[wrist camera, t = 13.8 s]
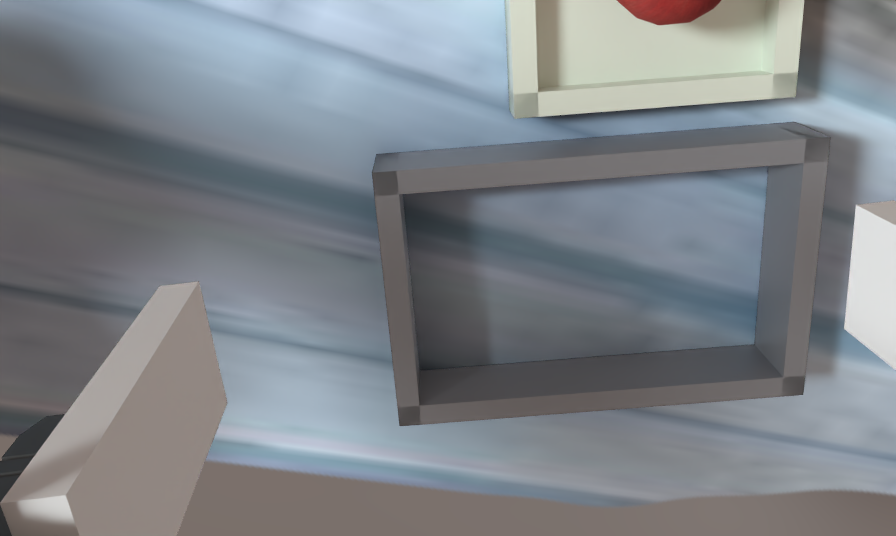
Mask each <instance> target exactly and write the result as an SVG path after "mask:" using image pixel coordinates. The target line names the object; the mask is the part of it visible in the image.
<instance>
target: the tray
mask: <svg viewBox="0 0 896 536" xmlns="http://www.w3.org/2000/svg"><path fill="white" fill-rule="evenodd" d="M803 9H804V0H721V1H720V3H719V4H718V5H717V6H716V7H715V8H714V9H712V10H711V11H709V12H707V13H706V14H704V15H702V16H700V17H699V18H697V19H695V20H693V21H692V22H689V23H679V24H669V25H660V26H659V25H656V24H653V23H650V22H647V21H644V20H641V19H638V18H636V17H635V16H634V15H633V14H631V13H630V12H629V11H628V10H627V9H626V8H625V7H623V6H622V5H621V4H620V3H619V2H618V1H617V0H505V19H506V43H507V66H508V89H509V110H510V112H511V114H512V115H513V117H514V119H517V118H530V117H543V116H556V115H569V114H582V113H595V112H608V111H621V110H634V109H646V108H659V107H672V106H685V105H698V104H711V103H724V102H737V101H750V100H763V99H776V98H789V97H796V88H797V77H798V65H799V54H800V43H801V31H802V20H803Z"/></svg>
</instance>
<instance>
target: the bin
mask: <svg viewBox="0 0 896 536" xmlns="http://www.w3.org/2000/svg"><path fill="white" fill-rule="evenodd" d="M830 139H831V137H829V136H827V135H824V134H822V133H819V132H817V131H815V130H812V129H810V128H808V127H805V126H803V125H800V124H798V123H796V122H787V123H774V124H761V125H748V126H735V127H722V128H710V129H697V130H684V131H671V132H658V133H645V134H632V135H619V136H606V137H593V138H580V139H567V140H554V141H541V142H528V143H516V144H503V145H490V146H477V147H464V148H451V149H438V150H425V151H412V152H399V153H386V154H376V158H375V162H374V166H373V170H372V178H373V187H374V196H375V206H376V215H377V224H378V233H379V242H380V251H381V260H382V269H383V279H384V288H385V297H386V306H387V315H388V324H389V333H390V342H391V352H392V361H393V370H394V379H395V388H396V397H397V406H398V415H399V425H400V426H409V425H422V424H435V423H448V422H461V421H473V420H486V419H499V418H512V417H525V416H538V415H550V414H563V413H576V412H589V411H602V410H615V409H627V408H640V407H653V406H666V405H679V404H692V403H704V402H717V401H730V400H743V399H756V398H769V397H781V396H794V395H803V392H804V382H805V373H806V364H807V354H808V345H809V336H810V326H811V317H812V307H813V298H814V289H815V279H816V270H817V261H818V251H819V242H820V232H821V223H822V214H823V204H824V195H825V186H826V176H827V167H828V157H829V148H830ZM761 166H768V179H767V192H766V204H765V217H764V230H763V243H762V255H761V268H760V281H759V293H758V306H757V319H756V332H755V344H754V345H741V346H729V347H716V348H703V349H690V350H677V351H664V352H651V353H639V354H626V355H613V356H600V357H587V358H574V359H561V360H549V361H536V362H523V363H510V364H497V365H484V366H472V367H459V368H446V369H433V370H420V368H419V357H418V347H417V336H416V326H415V315H414V305H413V294H412V284H411V274H410V263H409V253H408V242H407V232H406V221H405V211H404V201H403V194H412V193H425V192H438V191H451V190H464V189H477V188H490V187H502V186H515V185H528V184H541V183H554V182H567V181H580V180H593V179H606V178H619V177H632V176H645V175H657V174H670V173H683V172H696V171H709V170H722V169H735V168H748V167H761Z"/></svg>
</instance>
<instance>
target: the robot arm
mask: <svg viewBox="0 0 896 536" xmlns="http://www.w3.org/2000/svg"><path fill="white" fill-rule="evenodd" d="M844 329H845V330H846V331H848V332H849V333H850V334H851V335H853V336H854V337H855V338H856V339H857V340H859V341H860V342H861V343H862V344H864V345H865V346H866V347H867V348H869V349H870V350H871V351H872V352H874V353H875V354H876V355H877V356H879V357H880V358H881V359H882V360H884V361H885V362H886V363H887V364H888V365H890V366H891V367H892V368H893V369H895V370H896V201H886V202H877V203H868V204H860V205H856V210H855V221H854V231H853V242H852V252H851V263H850V273H849V284H848V294H847V305H846V315H845V326H844ZM226 405H227V399H226V395H225V390H224V386H223V382H222V378H221V373H220V369H219V365H218V361H217V356H216V352H215V348H214V344H213V339H212V335H211V331H210V327H209V322H208V318H207V314H206V310H205V305H204V301H203V297H202V293H201V288H200V284H199V281H198V282H189V283H181V284H172V285H164V286H159V288H158V289H157V290H156V292H155V293H154V294H153V296H152V297H151V298H150V300H149V301H148V303H147V304H146V305H145V307H144V308H143V309H142V311H141V312H140V313H139V315H138V316H137V317H136V319H135V320H134V322H133V323H132V324H131V326H130V327H129V328H128V330H127V331H126V332H125V334H124V335H123V336H122V338H121V339H120V341H119V342H118V343H117V345H116V346H115V347H114V349H113V350H112V351H111V353H110V354H109V356H108V357H107V358H106V360H105V361H104V362H103V364H102V365H101V366H100V368H99V369H98V370H97V372H96V373H95V375H94V376H93V377H92V379H91V380H90V381H89V383H88V384H87V385H86V387H85V388H84V389H83V391H82V392H81V394H80V395H79V396H78V398H77V399H76V400H75V402H74V403H73V404H72V406H71V407H70V408H69V410H68V411H67V413H66V414H63V415H54V416H46V417H45V418H43V419H42V420H41V421H39V422H38V423H37V424H35V425H34V426H32V427H31V428H30V429H28V430H27V431H25V432H24V433H23V434H21V435H20V436H19V437H18V438H17V439H16V440H15V442H14V443H13V444H12V445H11V447H10V448H9V449H8V450H7V452H6V453H5V454H4V455H3V457H2V461H0V536H176V535H177V533H178V530H179V528H180V525H181V522H182V520H183V517H184V515H185V512H186V509H187V507H188V504H189V502H190V499H191V496H192V494H193V491H194V488H195V486H196V483H197V480H198V478H199V475H200V473H201V470H202V467H203V465H204V462H205V460H206V457H207V455H208V452H209V449H210V447H211V444H212V442H213V439H214V436H215V434H216V431H217V429H218V426H219V423H220V421H221V418H222V416H223V413H224V410H225V408H226Z"/></svg>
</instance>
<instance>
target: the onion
mask: <svg viewBox="0 0 896 536" xmlns="http://www.w3.org/2000/svg"><path fill="white" fill-rule="evenodd" d="M617 1H618V2H619V3H620V4H621V5H622V6H623V7H625V8H626V9H627V10H628V11H629V12H630V13H631V14H633V15H634V16H635V17H636V18H638V19H641V20H644V21H647V22H650V23H653V24H656V25H659V26H660V25H669V24H679V23H689V22H692V21H693V20H695V19H697V18H699V17H700V16H702V15H704V14H706V13H707V12H709V11H711V10H712V9H714V8H715V7H716V6H717V5H718V4H719V3H720V1H721V0H617Z"/></svg>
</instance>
